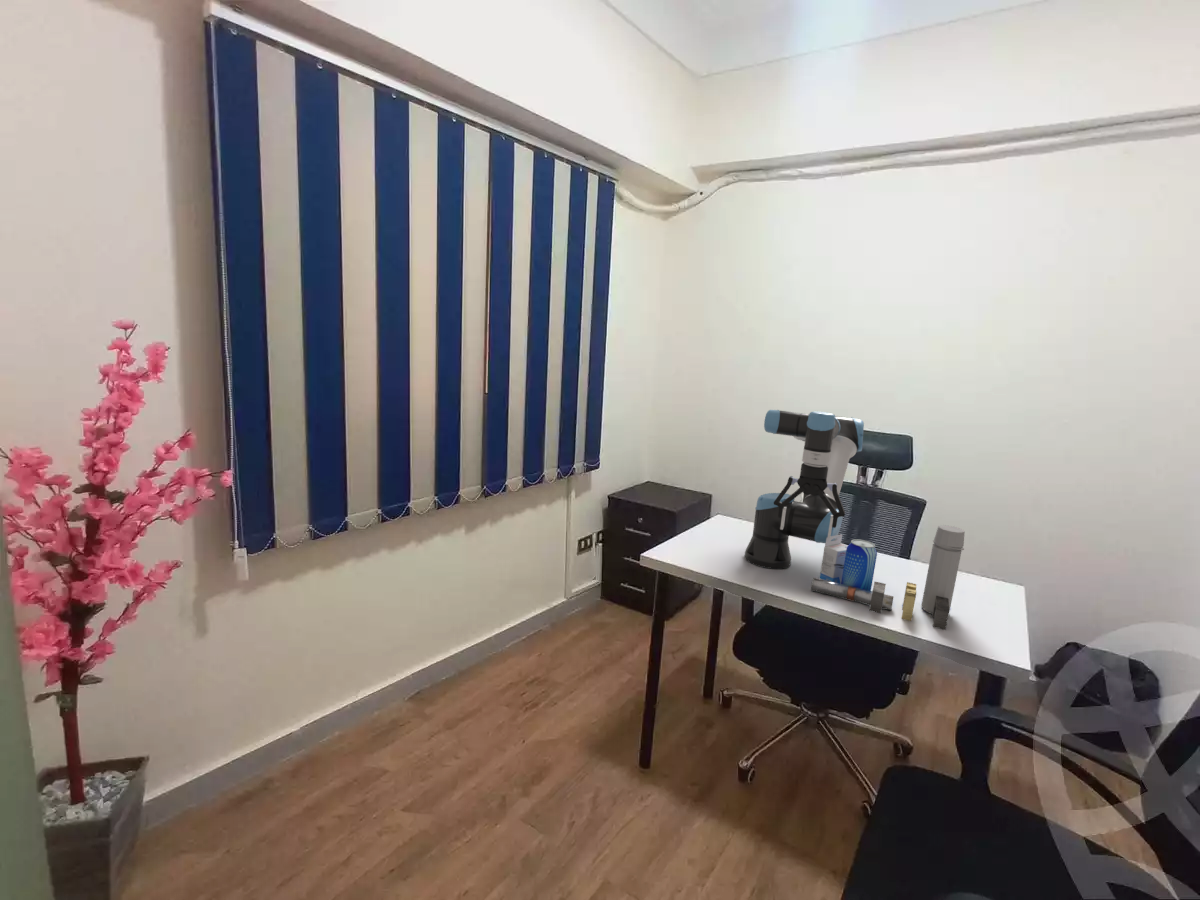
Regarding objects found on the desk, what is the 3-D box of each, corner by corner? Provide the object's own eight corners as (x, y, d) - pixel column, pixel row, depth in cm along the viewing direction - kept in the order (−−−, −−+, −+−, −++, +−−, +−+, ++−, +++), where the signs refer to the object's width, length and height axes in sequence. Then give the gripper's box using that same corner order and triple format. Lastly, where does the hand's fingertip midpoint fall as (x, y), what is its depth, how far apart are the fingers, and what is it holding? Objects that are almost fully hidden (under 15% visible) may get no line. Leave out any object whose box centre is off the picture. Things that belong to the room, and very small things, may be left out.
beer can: (833, 588, 183) (841, 539, 180) (854, 585, 187) (862, 537, 184) (855, 600, 176) (863, 549, 173) (876, 597, 179) (884, 546, 176)
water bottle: (938, 618, 167) (955, 534, 163) (914, 606, 174) (929, 525, 170) (960, 614, 171) (977, 531, 166) (935, 603, 178) (951, 523, 173)
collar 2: (932, 626, 162) (936, 606, 161) (932, 615, 169) (936, 595, 168) (945, 629, 161) (949, 609, 160) (944, 618, 168) (948, 598, 167)
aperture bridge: (901, 618, 166) (906, 591, 164) (902, 607, 173) (907, 582, 171) (911, 621, 165) (916, 594, 163) (911, 610, 172) (916, 584, 170)
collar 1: (869, 610, 169) (872, 590, 168) (871, 600, 177) (874, 581, 175) (880, 613, 168) (884, 593, 167) (882, 603, 175) (885, 583, 174)
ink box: (832, 587, 184) (839, 542, 181) (818, 581, 188) (825, 536, 186) (848, 582, 189) (855, 538, 186) (835, 576, 193) (841, 533, 190)
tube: (810, 590, 179) (812, 577, 179) (811, 590, 182) (814, 577, 182) (891, 610, 169) (893, 596, 169) (891, 609, 172) (893, 595, 173)
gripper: (770, 460, 178) (761, 528, 182) (860, 473, 168) (849, 544, 172) (773, 456, 184) (765, 521, 188) (860, 468, 175) (849, 537, 179)
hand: (805, 532), depth 180 cm, fingers open, 13 cm apart
